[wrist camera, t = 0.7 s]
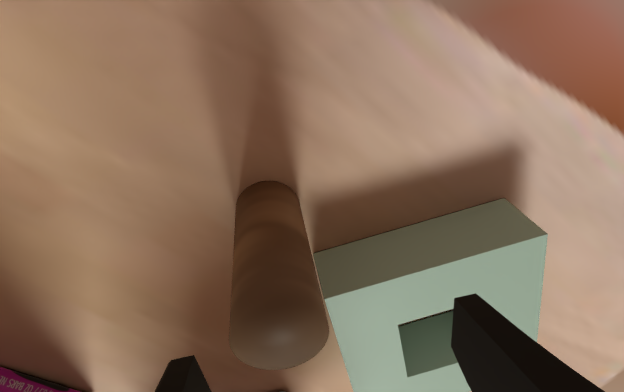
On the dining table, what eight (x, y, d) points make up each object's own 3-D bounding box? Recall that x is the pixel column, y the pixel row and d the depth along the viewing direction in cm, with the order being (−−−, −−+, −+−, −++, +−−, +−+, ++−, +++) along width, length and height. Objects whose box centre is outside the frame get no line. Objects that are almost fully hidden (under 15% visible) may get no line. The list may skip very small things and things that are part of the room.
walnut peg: (247, 242, 20) (248, 379, 13) (226, 191, 18) (213, 317, 11) (306, 225, 20) (337, 353, 13) (290, 173, 18) (316, 287, 11)
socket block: (350, 372, 26) (363, 422, 23) (313, 253, 21) (324, 299, 18) (501, 328, 26) (533, 372, 23) (504, 197, 21) (547, 234, 18)
